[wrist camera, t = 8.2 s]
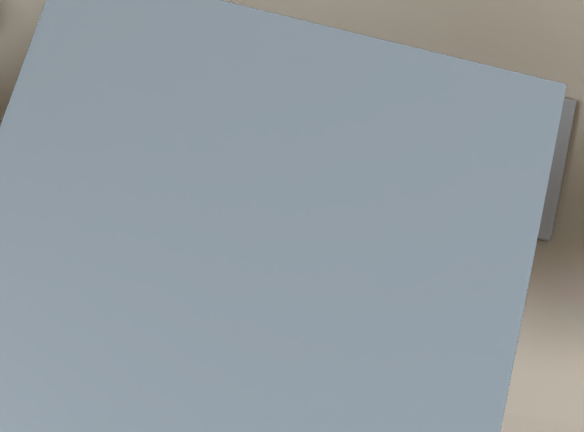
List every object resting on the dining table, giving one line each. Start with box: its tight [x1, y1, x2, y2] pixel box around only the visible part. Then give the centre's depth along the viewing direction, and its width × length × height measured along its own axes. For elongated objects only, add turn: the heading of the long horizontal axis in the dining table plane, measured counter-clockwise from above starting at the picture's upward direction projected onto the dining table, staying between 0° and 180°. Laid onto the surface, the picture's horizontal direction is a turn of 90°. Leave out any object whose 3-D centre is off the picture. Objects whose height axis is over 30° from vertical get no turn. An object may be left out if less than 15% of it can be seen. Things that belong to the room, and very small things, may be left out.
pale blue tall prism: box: [0, 0, 567, 432], centre depth 11 cm, size 7×4×17 cm, turn 165°
